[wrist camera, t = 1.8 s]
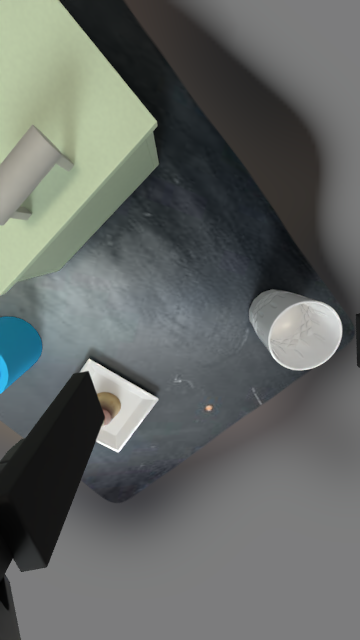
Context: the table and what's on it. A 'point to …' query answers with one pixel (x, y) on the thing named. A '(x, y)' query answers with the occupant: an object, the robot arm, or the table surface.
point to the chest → (97, 210)
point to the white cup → (295, 328)
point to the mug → (17, 349)
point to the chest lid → (55, 128)
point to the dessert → (118, 405)
